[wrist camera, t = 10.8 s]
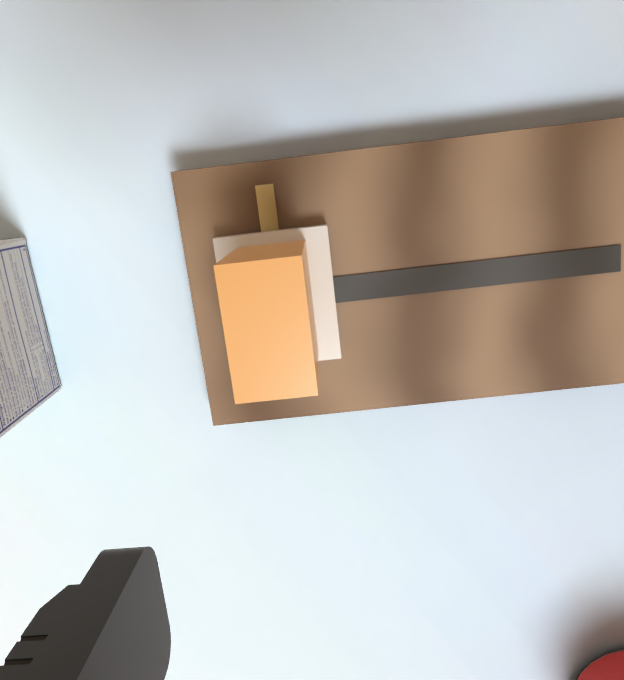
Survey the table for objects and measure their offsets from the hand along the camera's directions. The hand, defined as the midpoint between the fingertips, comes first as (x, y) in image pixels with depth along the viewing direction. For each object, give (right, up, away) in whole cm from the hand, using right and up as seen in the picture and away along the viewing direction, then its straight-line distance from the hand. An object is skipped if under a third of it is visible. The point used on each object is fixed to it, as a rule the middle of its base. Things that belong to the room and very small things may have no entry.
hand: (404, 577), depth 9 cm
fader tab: (-3, +6, +18) cm, 19 cm away
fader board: (+4, +7, +20) cm, 21 cm away
